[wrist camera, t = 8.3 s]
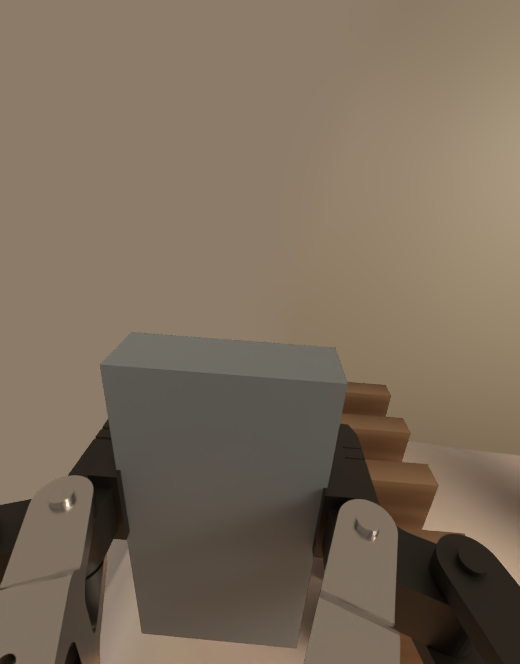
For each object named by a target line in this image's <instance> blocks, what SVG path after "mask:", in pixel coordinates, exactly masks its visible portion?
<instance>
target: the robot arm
mask: <svg viewBox="0 0 520 664" xmlns="http://www.w3.org/2000/svg"><path fill="white" fill-rule="evenodd" d="M129 533H130V530H129V523H128V517H127V510H126V503H125V497H124V490H123V483H122V477H121V470H116V465H115V458H114V452H113V445H112V439H111V433H110V426H109V420H107V422H106V423H105V425H104V426H103V428H102V429H101V430H100V431H99V433H98V434H97V436H96V439H94V440H93V441H92V443H91V444H90V445H89V447H88V448H87V450H86V451H85V452H84V454H83V455H82V456H81V458H80V459H79V461H78V462H77V464H76V465H75V466H74V468H73V469H72V471H71V472H70V473H69V475H68V476H66V477H61V478H59V479H56V480H54V481H52V482H50V483H48V484H47V485H45V486H44V487H42V488H41V489H40V490H39V491H38V492H37V493H36V494H35V495H34V497H33V498H32V499H29V500H25V501H19V502H14V503H9V504H4V505H0V664H100V631H101V621H102V611H103V601H104V590H105V581H106V571H107V551H108V549H109V547H110V545H111V542H112V540H113V539H122V540H127V538H128V535H129ZM312 553H313V557H319V558H323V559H324V568H325V574H324V578H323V583H322V587H321V591H320V595H319V599H318V604H317V608H316V612H315V617H314V621H313V625H312V630H311V634H310V639H309V643H308V647H307V652H306V656H305V660H304V664H400V634H399V632H400V633H402V634H404V635H407V636H409V637H411V639H412V641H413V643H414V645H415V647H416V649H417V651H418V653H419V655H420V657H421V660H422V662H423V664H520V586H519V585H518V584H517V582H516V581H515V580H514V579H513V577H512V576H511V575H510V574H509V573H508V571H507V570H506V569H505V568H504V566H503V565H502V564H501V563H500V561H499V560H498V559H497V558H496V557H495V556H494V554H493V553H491V552H490V551H489V550H488V549H487V548H486V547H485V546H483V545H482V544H480V543H479V542H477V541H475V540H473V539H472V538H469V537H467V536H464V535H460V534H447V535H444V536H443V537H441V538H440V539H439V540H438V542H437V544H436V543H434V542H431V541H429V540H426V539H423V538H421V537H418V536H415V535H413V534H410V533H408V532H406V531H404V530H403V529H401V528H399V527H398V526H397V525H396V524H395V522H394V520H393V519H392V517H391V516H390V515H389V514H388V512H386V511H385V510H384V509H383V508H382V507H380V504H379V502H378V499H377V495H376V492H375V489H374V486H373V483H372V479H371V476H370V473H369V470H368V467H367V463H366V462H365V457H364V454H363V451H362V447H361V444H360V441H359V438H358V435H357V434H356V433H355V432H354V431H353V429H352V428H351V427H350V426H349V425H348V424H340V426H339V431H338V436H337V441H336V447H335V452H334V457H333V462H332V467H331V472H330V477H329V482H328V488H323V494H322V499H321V504H320V510H319V515H318V520H317V525H316V531H315V536H314V541H313V547H312Z"/></svg>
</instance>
